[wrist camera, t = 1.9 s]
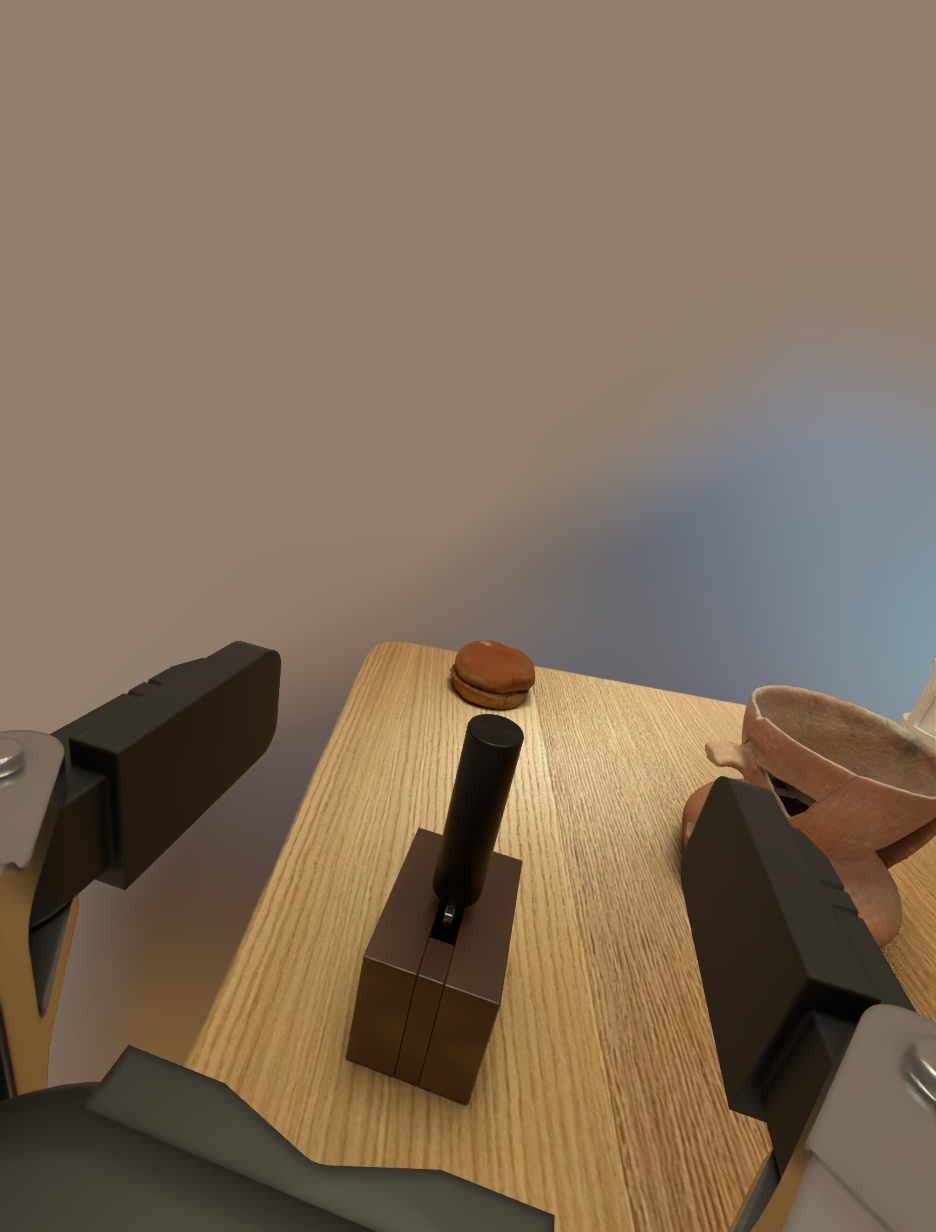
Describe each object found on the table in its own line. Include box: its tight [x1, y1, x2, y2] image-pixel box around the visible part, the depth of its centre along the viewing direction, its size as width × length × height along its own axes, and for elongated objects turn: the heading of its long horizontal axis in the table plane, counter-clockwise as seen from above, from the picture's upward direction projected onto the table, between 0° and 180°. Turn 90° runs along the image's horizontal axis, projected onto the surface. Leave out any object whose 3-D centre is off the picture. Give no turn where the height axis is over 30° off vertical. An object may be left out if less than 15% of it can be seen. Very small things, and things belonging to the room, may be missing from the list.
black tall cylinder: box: [432, 714, 524, 943], centre depth 25 cm, size 2×3×17 cm
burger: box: [450, 640, 535, 709], centre depth 60 cm, size 10×9×5 cm
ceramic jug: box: [682, 685, 936, 949], centre depth 38 cm, size 18×14×14 cm
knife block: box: [346, 828, 522, 1105], centre depth 27 cm, size 6×8×7 cm
